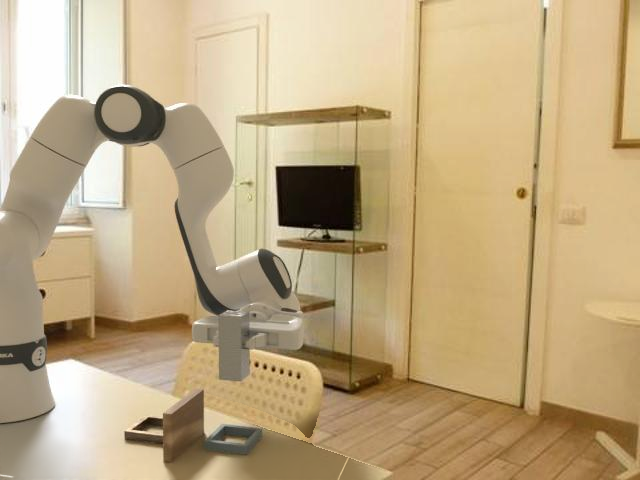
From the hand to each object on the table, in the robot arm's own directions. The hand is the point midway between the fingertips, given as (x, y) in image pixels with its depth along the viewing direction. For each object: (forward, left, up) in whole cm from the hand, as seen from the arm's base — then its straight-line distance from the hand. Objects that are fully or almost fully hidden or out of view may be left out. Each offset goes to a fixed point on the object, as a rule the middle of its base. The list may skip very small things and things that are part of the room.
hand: (232, 343), depth 103 cm
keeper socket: (0, +1, -18) cm, 18 cm away
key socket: (-15, +1, -18) cm, 23 cm away
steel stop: (0, +1, -6) cm, 6 cm away
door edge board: (-8, -3, -18) cm, 19 cm away
